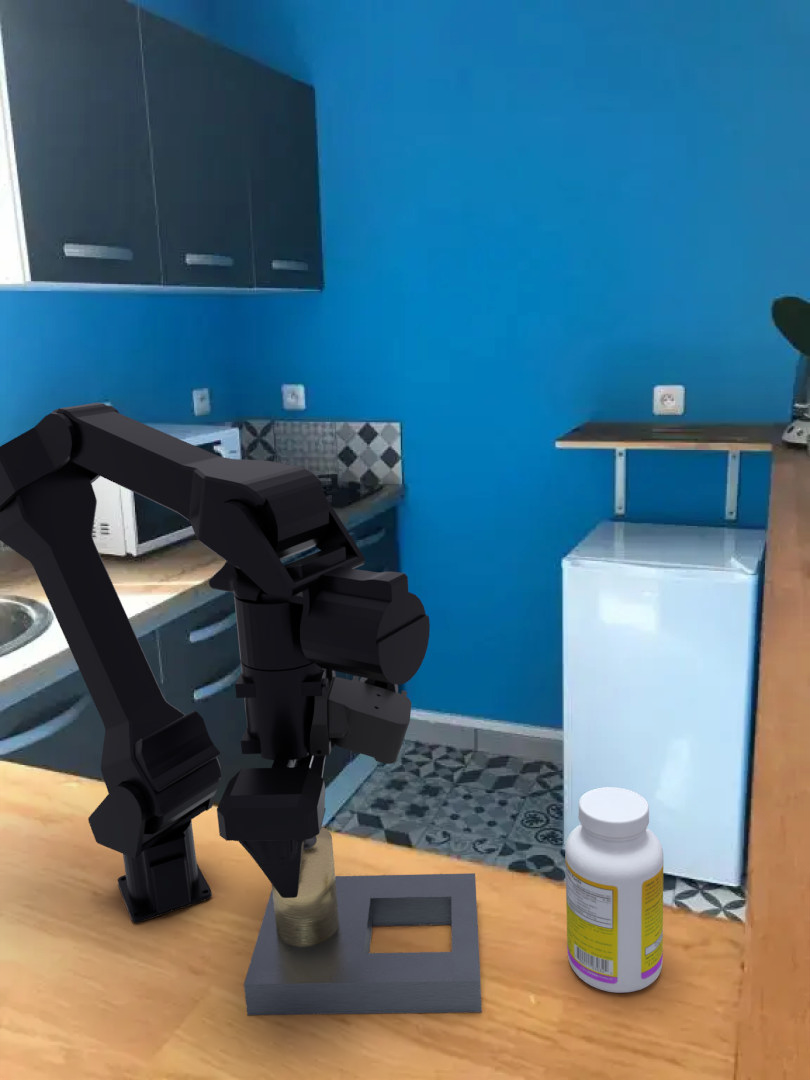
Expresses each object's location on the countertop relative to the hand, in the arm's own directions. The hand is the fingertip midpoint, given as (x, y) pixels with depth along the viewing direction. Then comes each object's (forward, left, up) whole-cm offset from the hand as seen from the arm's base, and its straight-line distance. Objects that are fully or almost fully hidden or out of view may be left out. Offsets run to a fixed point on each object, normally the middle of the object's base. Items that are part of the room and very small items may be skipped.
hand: (300, 856), depth 67 cm
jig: (+2, +4, -8) cm, 9 cm away
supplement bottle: (+13, +19, -8) cm, 24 cm away
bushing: (0, 0, -6) cm, 6 cm away
